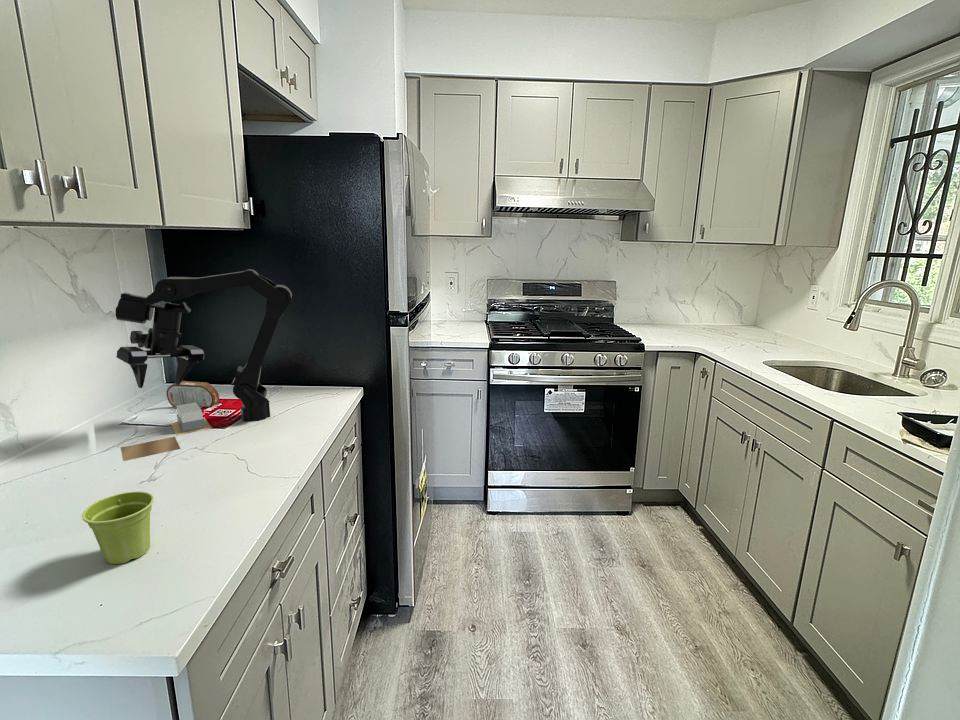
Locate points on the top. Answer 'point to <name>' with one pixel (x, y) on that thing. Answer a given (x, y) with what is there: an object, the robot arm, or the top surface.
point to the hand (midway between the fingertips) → (159, 386)
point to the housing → (190, 417)
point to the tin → (192, 394)
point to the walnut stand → (149, 448)
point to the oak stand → (179, 431)
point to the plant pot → (121, 525)
